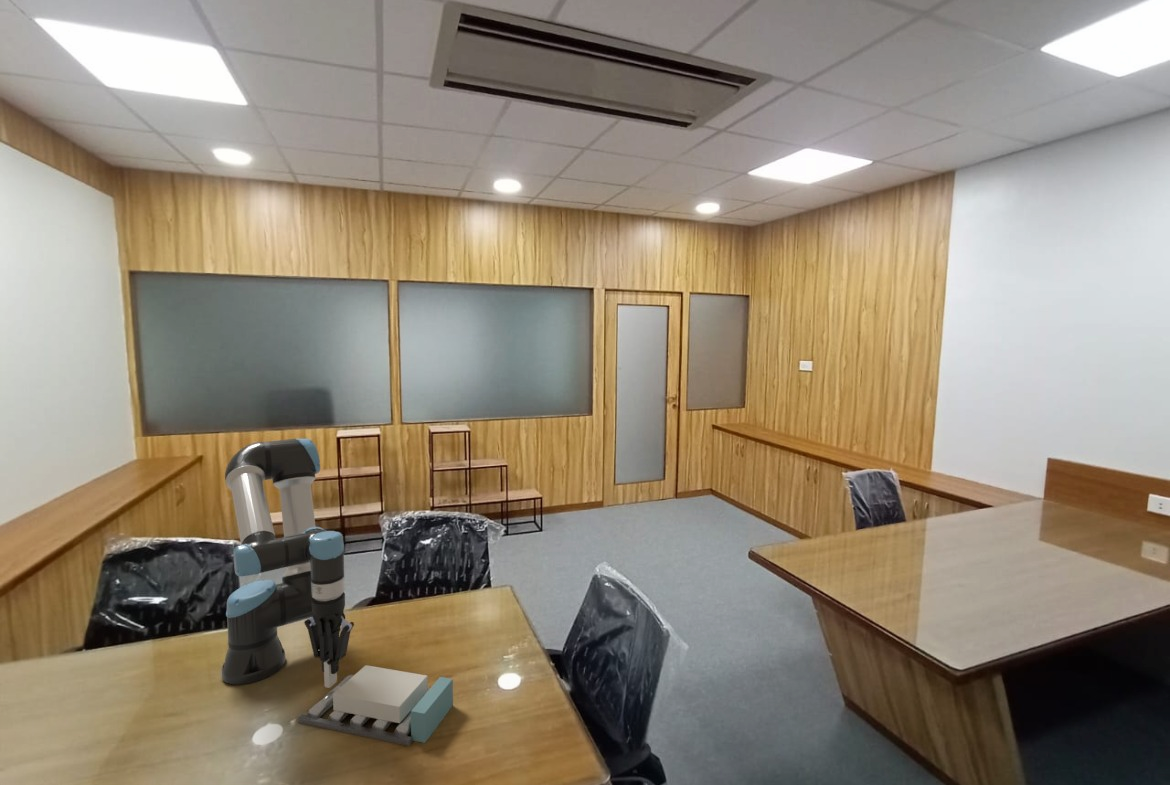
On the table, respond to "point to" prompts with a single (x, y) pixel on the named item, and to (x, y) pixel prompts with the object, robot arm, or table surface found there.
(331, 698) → the roller bed
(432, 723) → the stop block
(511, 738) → the table surface
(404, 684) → the slab
